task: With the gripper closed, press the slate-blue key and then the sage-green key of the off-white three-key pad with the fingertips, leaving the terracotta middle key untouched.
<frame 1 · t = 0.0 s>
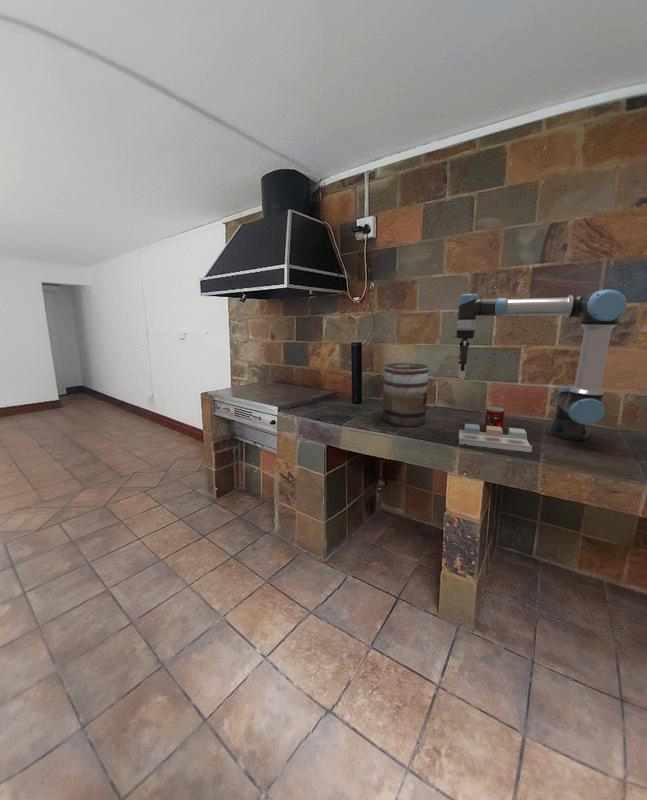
hand: (461, 375, 158), 28 cm above the table, fingers open, 13 cm apart
keypad base: (492, 443, 150), on the table
key B: (494, 431, 149), point 5 cm above the table, slide at 0.0 cm
canned food: (493, 430, 168), on the table
key A: (517, 433, 146), point 5 cm above the table, slide at 0.0 cm
key C: (471, 429, 152), point 5 cm above the table, slide at 0.0 cm
barrel: (403, 421, 183), on the table
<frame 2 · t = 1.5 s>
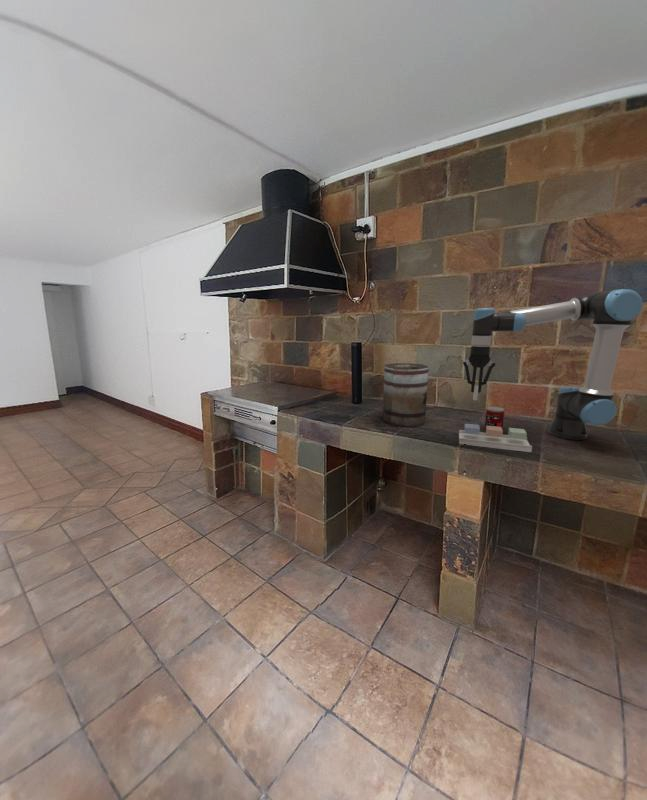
hand: (474, 399, 149), 19 cm above the table, fingers closed
nothing on the table moved.
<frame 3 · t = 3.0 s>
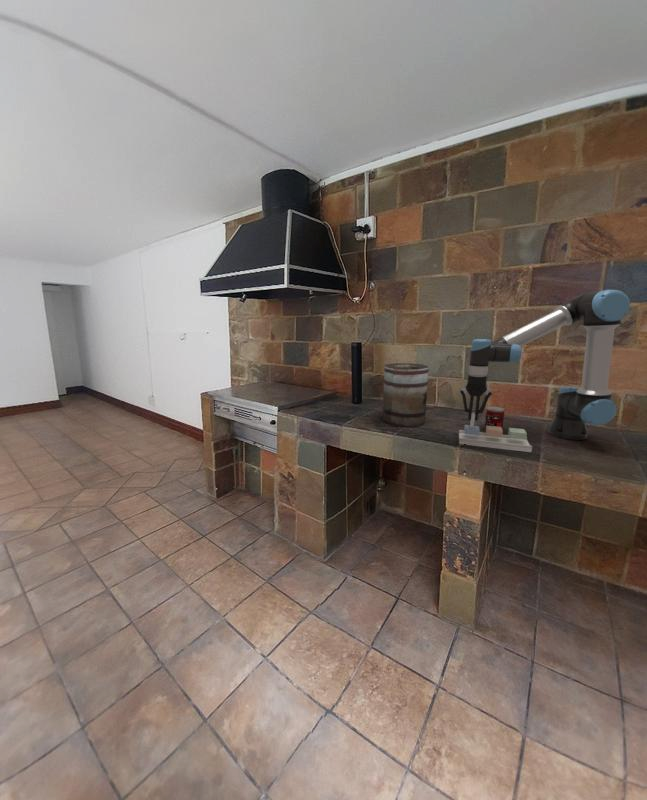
hand: (471, 426, 152), 7 cm above the table, fingers closed
key C: (471, 430, 152), point 5 cm above the table, slide at 0.6 cm, touching gripper
everything else where it was.
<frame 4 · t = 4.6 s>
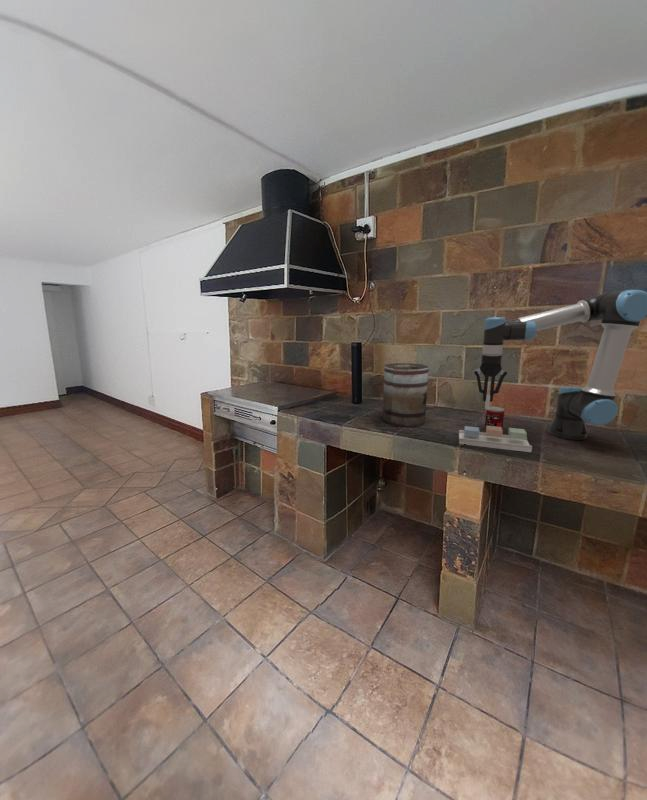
hand: (486, 408, 148), 16 cm above the table, fingers closed
key C: (471, 432, 152), point 4 cm above the table, slide at 1.3 cm
everything else where it was.
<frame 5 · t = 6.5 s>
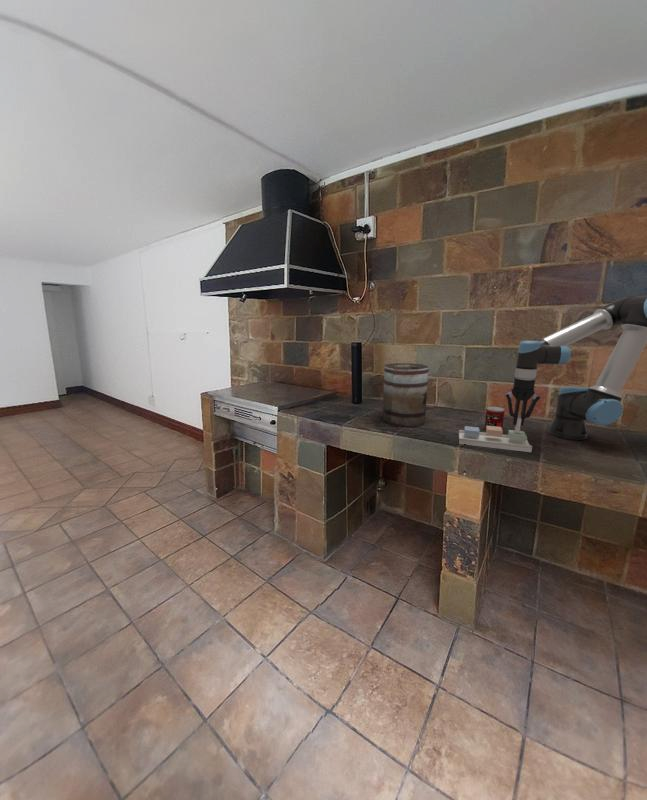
hand: (516, 432, 145), 6 cm above the table, fingers closed
key A: (516, 436, 146), point 4 cm above the table, slide at 1.0 cm, touching gripper
everything else where it was.
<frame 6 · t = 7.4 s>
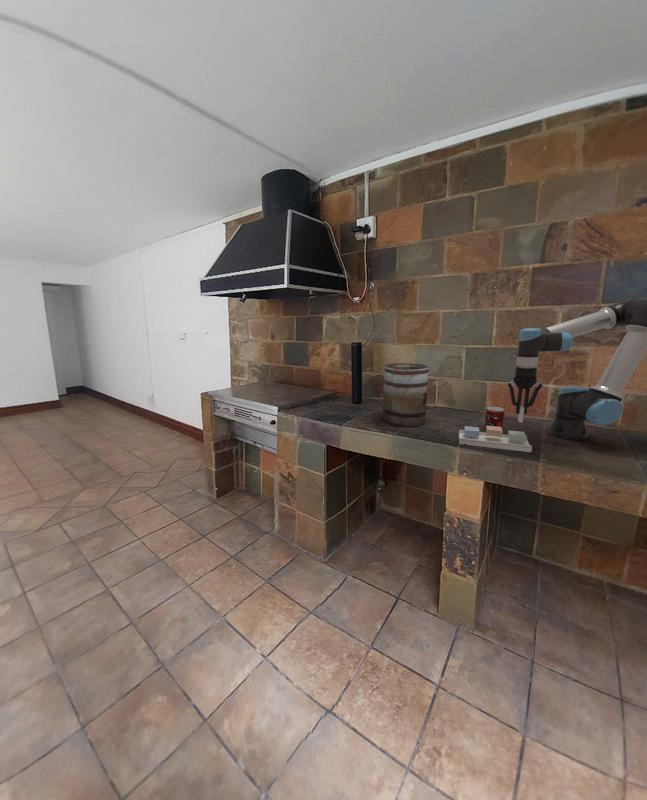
hand: (520, 421, 144), 11 cm above the table, fingers closed
key A: (516, 436, 146), point 4 cm above the table, slide at 1.3 cm
everything else where it was.
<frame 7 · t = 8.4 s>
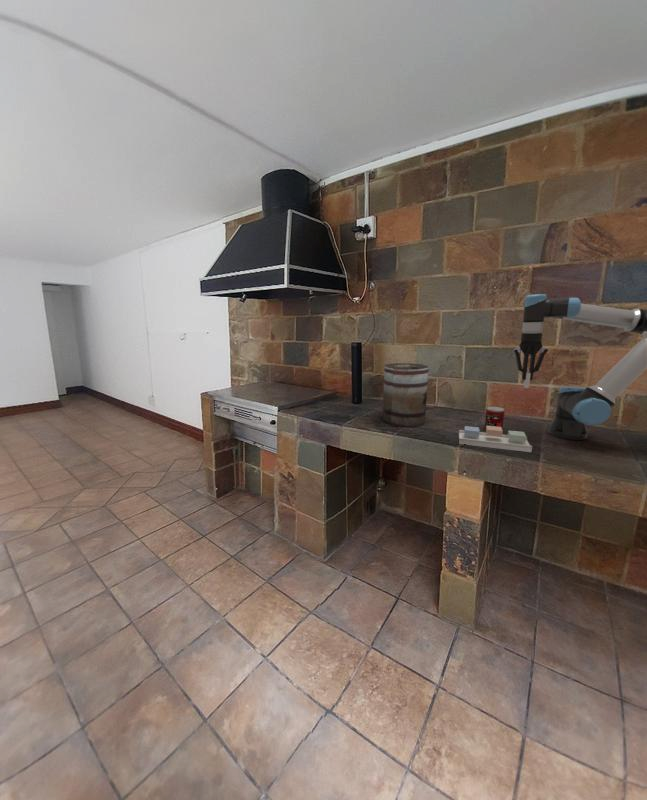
hand: (526, 387, 148), 25 cm above the table, fingers closed
nothing on the table moved.
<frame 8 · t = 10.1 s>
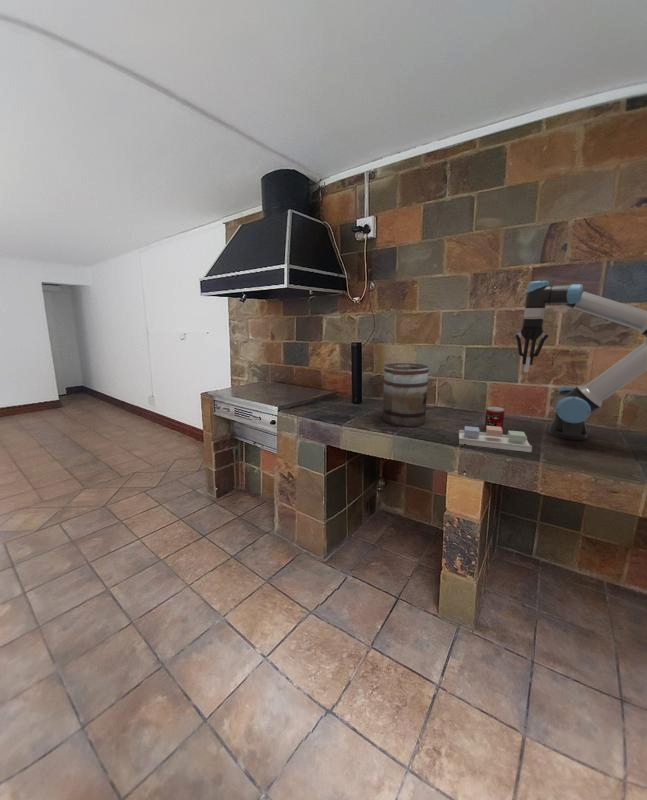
hand: (526, 371, 153), 30 cm above the table, fingers closed
nothing on the table moved.
at the end: key C slide at 1.3 cm; key A slide at 1.3 cm; key B slide at 0.0 cm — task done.
